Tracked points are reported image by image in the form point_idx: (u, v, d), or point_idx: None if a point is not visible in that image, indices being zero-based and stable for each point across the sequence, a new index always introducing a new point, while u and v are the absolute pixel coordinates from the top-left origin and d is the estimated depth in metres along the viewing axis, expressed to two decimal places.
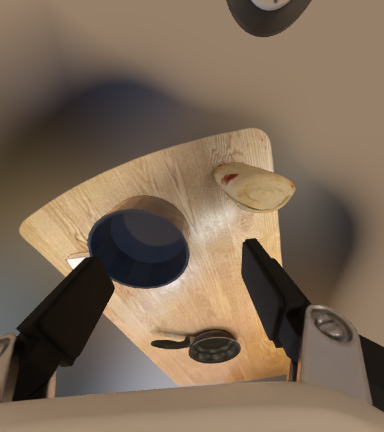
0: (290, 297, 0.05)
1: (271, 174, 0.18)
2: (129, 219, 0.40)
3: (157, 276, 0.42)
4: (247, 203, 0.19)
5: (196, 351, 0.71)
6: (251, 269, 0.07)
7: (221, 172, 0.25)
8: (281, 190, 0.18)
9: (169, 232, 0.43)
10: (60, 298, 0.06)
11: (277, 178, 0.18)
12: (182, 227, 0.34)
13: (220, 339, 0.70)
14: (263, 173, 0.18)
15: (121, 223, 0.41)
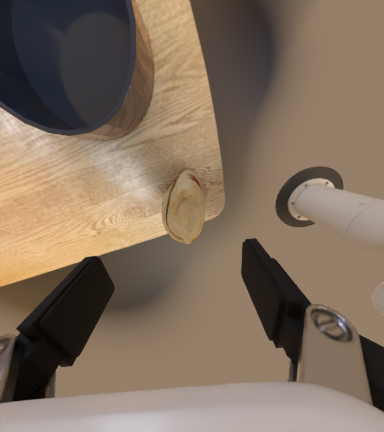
0: (290, 297, 0.05)
1: (203, 220, 0.19)
2: (106, 20, 0.23)
3: None
4: (173, 203, 0.17)
5: None
6: (251, 269, 0.07)
7: (195, 174, 0.24)
8: (189, 232, 0.18)
9: (97, 105, 0.28)
10: (60, 298, 0.06)
11: (200, 225, 0.18)
12: (115, 125, 0.23)
13: None
14: None
15: None
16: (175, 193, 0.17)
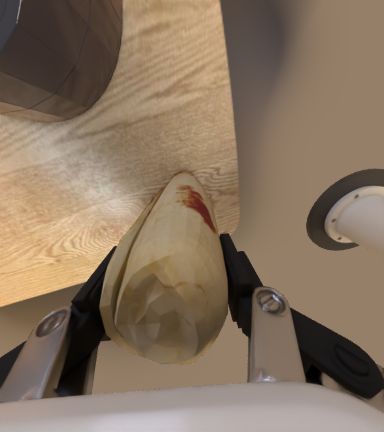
0: (242, 280, 0.06)
1: None
2: None
3: None
4: (127, 289, 0.05)
5: None
6: None
7: (198, 184, 0.12)
8: (182, 359, 0.06)
9: None
10: (101, 279, 0.07)
11: (213, 340, 0.06)
12: (34, 82, 0.11)
13: None
14: None
15: None
16: (131, 263, 0.05)
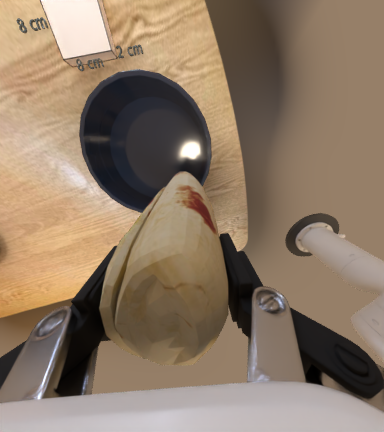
0: (242, 280, 0.06)
1: None
2: (177, 131, 0.33)
3: (101, 167, 0.30)
4: (128, 290, 0.05)
5: None
6: None
7: (198, 185, 0.12)
8: (182, 360, 0.06)
9: (161, 179, 0.38)
10: (102, 278, 0.07)
11: (213, 341, 0.06)
12: None
13: None
14: None
15: (171, 117, 0.32)
16: (132, 264, 0.05)
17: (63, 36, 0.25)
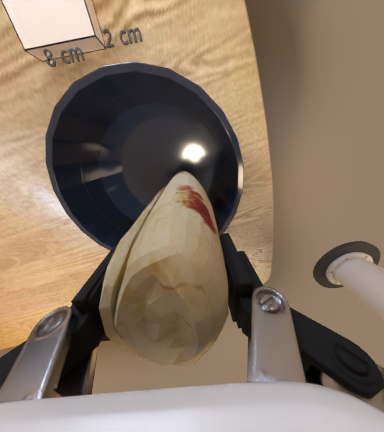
0: (242, 280, 0.06)
1: None
2: (188, 148, 0.24)
3: (84, 200, 0.22)
4: (127, 290, 0.05)
5: None
6: None
7: (198, 185, 0.12)
8: (182, 360, 0.06)
9: None
10: (102, 279, 0.07)
11: (213, 341, 0.06)
12: None
13: None
14: None
15: (181, 131, 0.23)
16: (131, 264, 0.05)
17: (21, 14, 0.16)
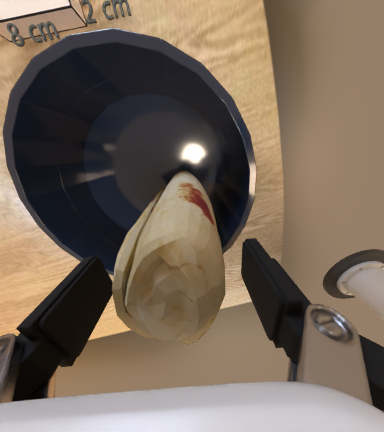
0: (290, 297, 0.05)
1: None
2: (188, 147, 0.21)
3: (64, 209, 0.18)
4: (137, 272, 0.06)
5: None
6: (251, 269, 0.07)
7: (198, 183, 0.12)
8: (184, 337, 0.07)
9: None
10: (60, 298, 0.06)
11: (212, 320, 0.07)
12: None
13: None
14: None
15: (179, 127, 0.20)
16: (142, 248, 0.06)
17: None
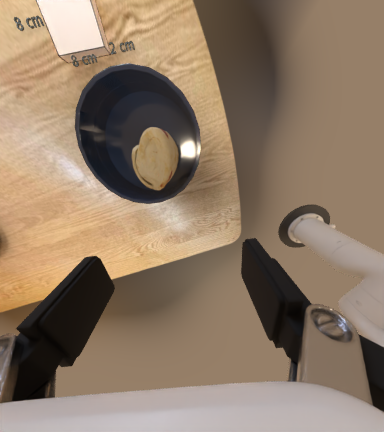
0: (290, 297, 0.05)
1: (169, 165, 0.21)
2: (169, 124, 0.34)
3: (96, 159, 0.32)
4: (140, 145, 0.19)
5: None
6: (251, 269, 0.07)
7: None
8: (157, 175, 0.21)
9: None
10: (60, 298, 0.06)
11: (166, 169, 0.21)
12: None
13: None
14: (170, 157, 0.20)
15: (163, 111, 0.33)
16: (141, 136, 0.19)
17: (58, 34, 0.26)
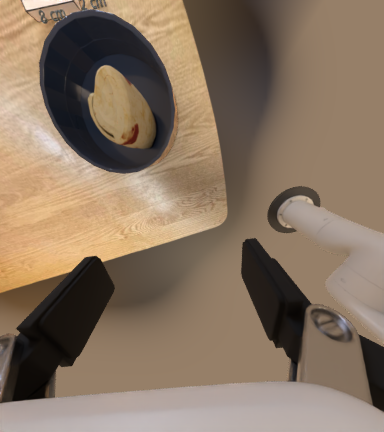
0: (290, 297, 0.05)
1: (130, 112, 0.19)
2: (147, 92, 0.33)
3: (69, 124, 0.30)
4: (95, 87, 0.18)
5: None
6: (251, 269, 0.07)
7: None
8: (116, 123, 0.19)
9: None
10: (60, 298, 0.06)
11: (126, 116, 0.19)
12: (152, 164, 0.34)
13: None
14: (130, 103, 0.19)
15: (140, 77, 0.32)
16: (96, 76, 0.18)
17: None
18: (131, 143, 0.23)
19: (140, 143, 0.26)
